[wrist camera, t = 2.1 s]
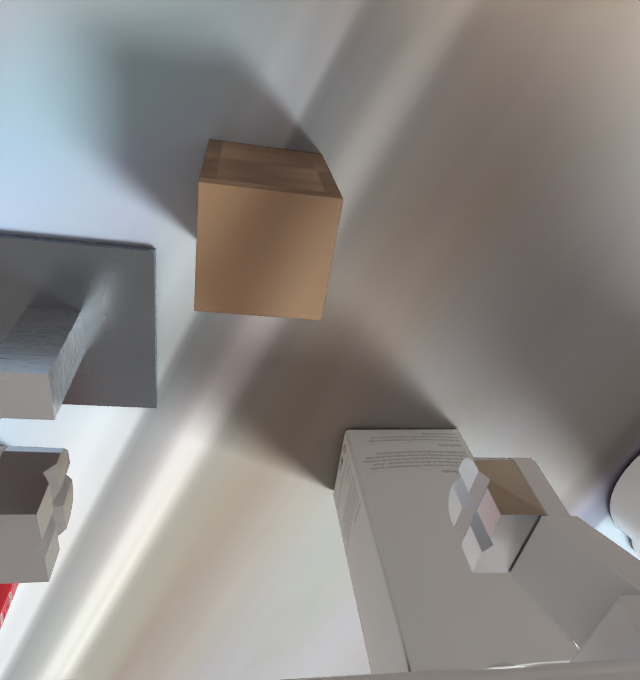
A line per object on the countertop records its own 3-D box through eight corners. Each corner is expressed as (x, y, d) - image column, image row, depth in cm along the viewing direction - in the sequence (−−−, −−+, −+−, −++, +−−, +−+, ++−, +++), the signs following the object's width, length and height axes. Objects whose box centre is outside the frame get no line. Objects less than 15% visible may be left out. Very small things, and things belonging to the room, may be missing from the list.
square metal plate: (155, 248, 27) (134, 306, 22) (156, 403, 32) (140, 478, 27) (-67, 227, 25) (-145, 285, 20) (-27, 395, 30) (-80, 474, 25)
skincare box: (331, 491, 38) (375, 750, 25) (344, 421, 34) (404, 679, 21) (442, 491, 39) (539, 736, 26) (466, 423, 36) (591, 667, 23)
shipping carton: (321, 154, 25) (343, 198, 20) (306, 255, 28) (321, 320, 22) (209, 139, 24) (198, 182, 19) (204, 245, 27) (194, 310, 21)
